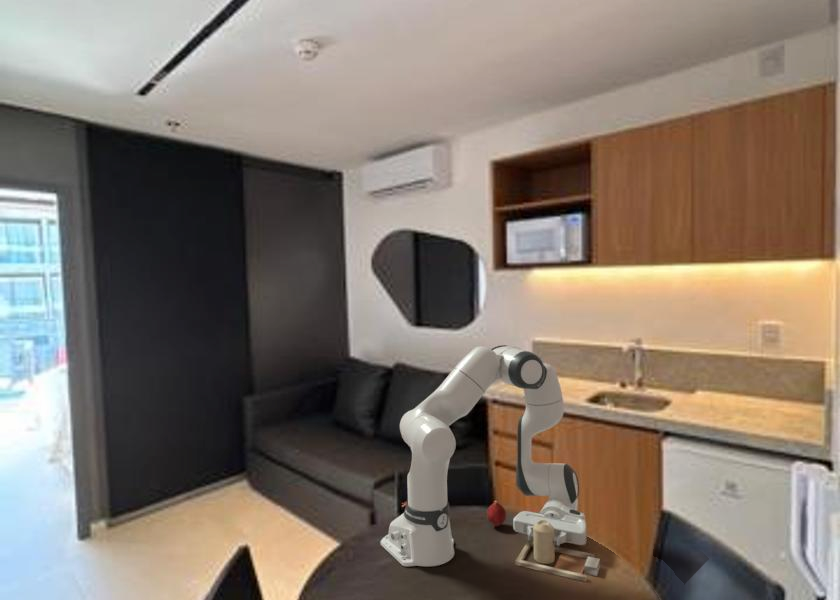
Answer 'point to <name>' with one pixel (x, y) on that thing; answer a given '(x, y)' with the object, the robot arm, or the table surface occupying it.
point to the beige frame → (564, 563)
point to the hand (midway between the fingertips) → (542, 540)
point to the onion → (496, 514)
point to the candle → (543, 542)
